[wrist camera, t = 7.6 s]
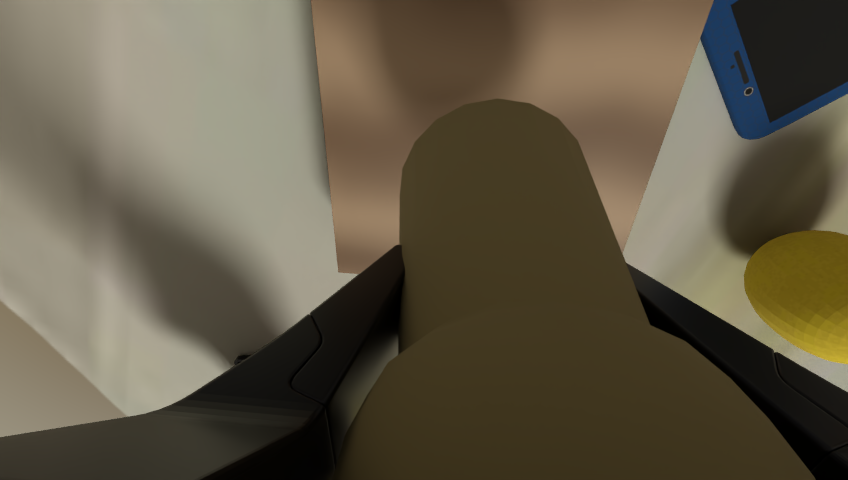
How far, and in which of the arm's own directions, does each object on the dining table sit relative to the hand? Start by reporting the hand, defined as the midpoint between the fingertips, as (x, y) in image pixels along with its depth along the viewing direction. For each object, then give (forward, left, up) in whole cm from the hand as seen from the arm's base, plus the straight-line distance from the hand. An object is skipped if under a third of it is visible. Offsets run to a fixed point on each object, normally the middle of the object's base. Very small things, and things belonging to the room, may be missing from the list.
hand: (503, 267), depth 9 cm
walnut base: (0, 0, -13) cm, 13 cm away
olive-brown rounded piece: (0, 0, -4) cm, 4 cm away
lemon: (-6, -17, -13) cm, 22 cm away
